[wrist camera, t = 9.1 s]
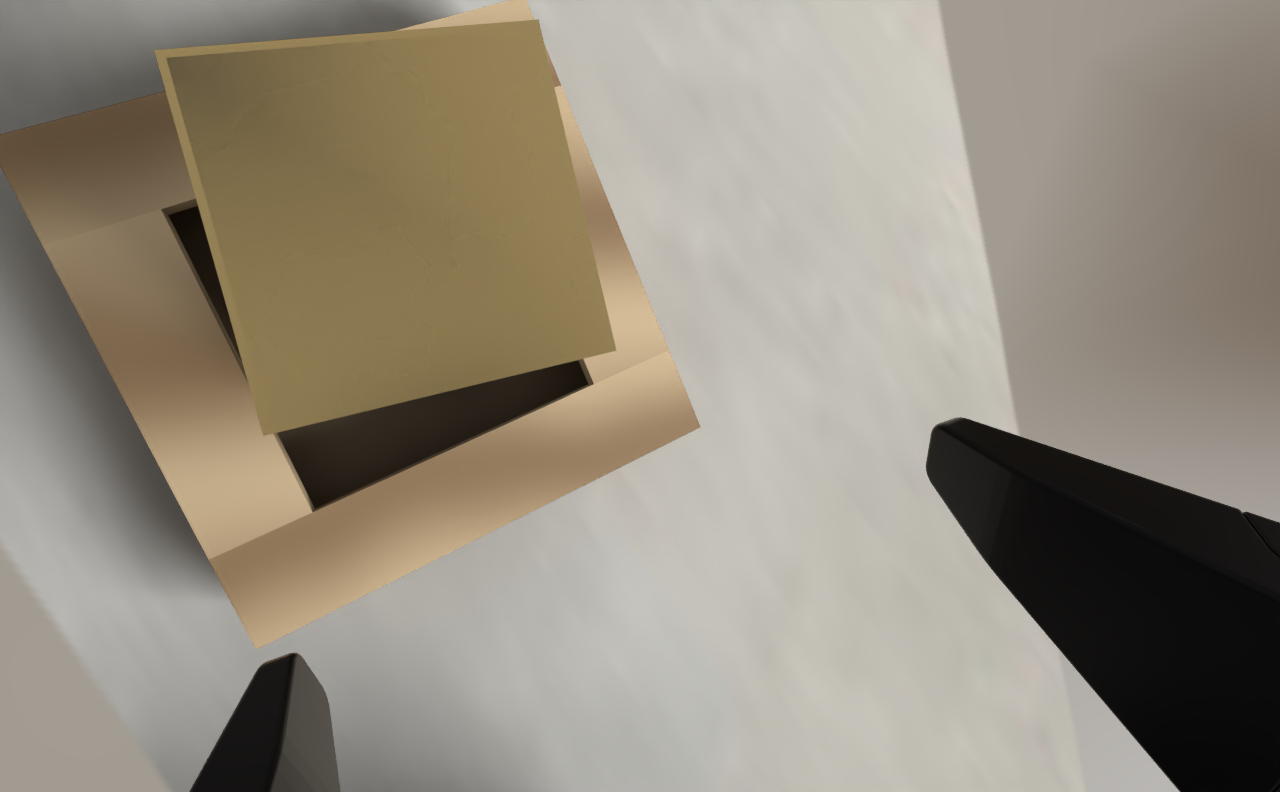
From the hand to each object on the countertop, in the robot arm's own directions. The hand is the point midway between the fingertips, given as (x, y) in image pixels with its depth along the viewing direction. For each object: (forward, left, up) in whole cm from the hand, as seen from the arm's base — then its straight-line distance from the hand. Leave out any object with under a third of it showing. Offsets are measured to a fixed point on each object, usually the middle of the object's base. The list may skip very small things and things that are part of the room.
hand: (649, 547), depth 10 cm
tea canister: (+5, +1, -14) cm, 15 cm away
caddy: (+5, +1, -15) cm, 16 cm away
